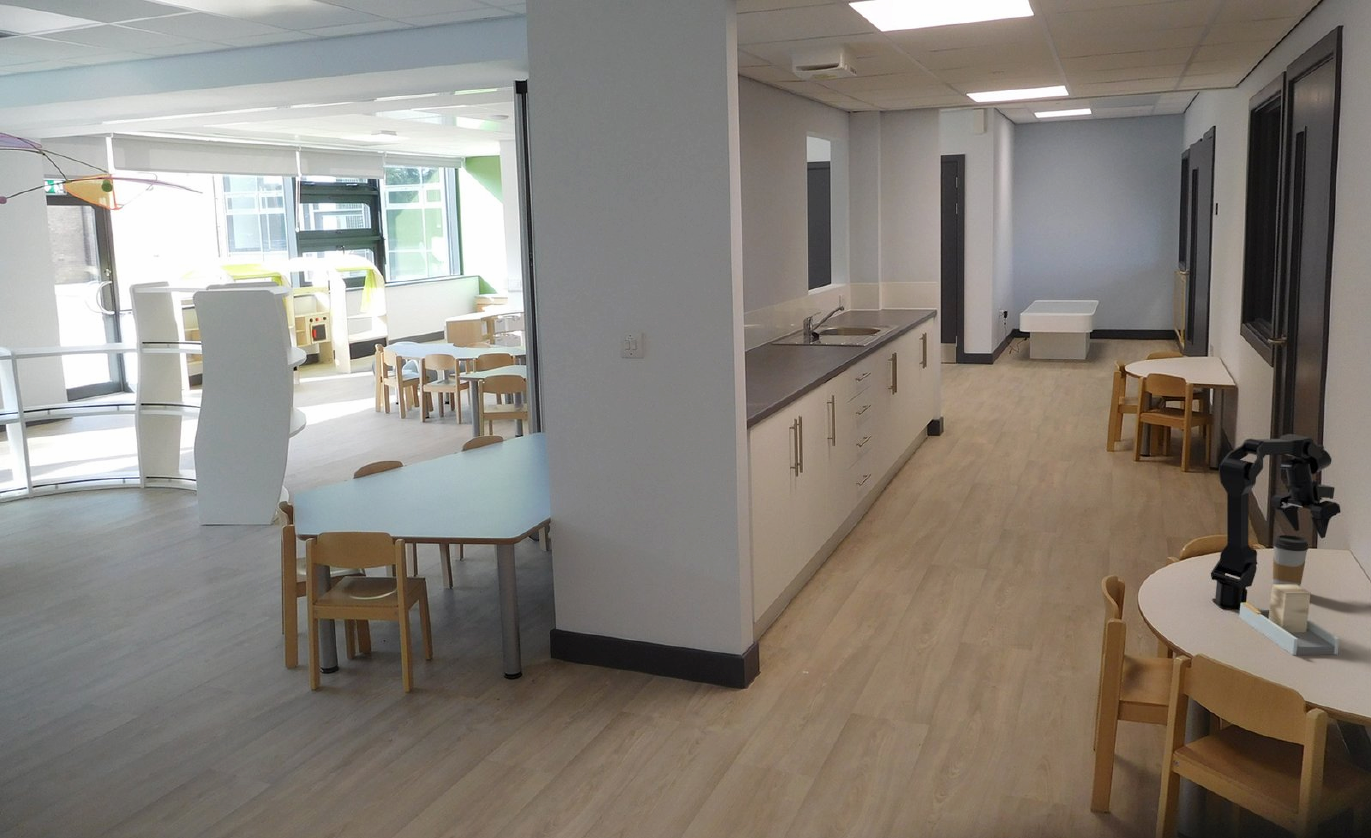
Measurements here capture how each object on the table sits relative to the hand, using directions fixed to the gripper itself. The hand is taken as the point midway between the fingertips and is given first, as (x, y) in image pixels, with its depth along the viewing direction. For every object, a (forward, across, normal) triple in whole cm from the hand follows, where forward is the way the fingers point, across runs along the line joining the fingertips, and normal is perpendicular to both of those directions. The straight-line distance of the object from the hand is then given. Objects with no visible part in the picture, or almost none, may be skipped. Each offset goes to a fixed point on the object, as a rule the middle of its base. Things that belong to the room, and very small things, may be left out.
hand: (1309, 534), depth 296 cm
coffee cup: (+14, +2, +9) cm, 17 cm away
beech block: (+9, -26, +32) cm, 42 cm away
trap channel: (+10, -26, +32) cm, 42 cm away
